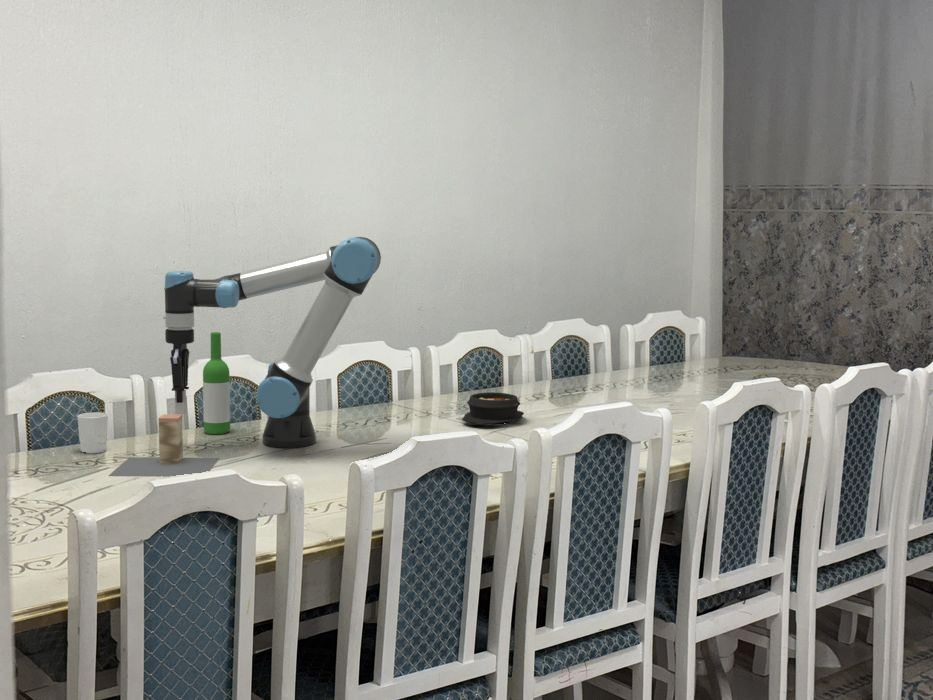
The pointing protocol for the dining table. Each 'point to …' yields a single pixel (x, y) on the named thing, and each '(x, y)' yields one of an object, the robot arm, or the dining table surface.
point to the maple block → (170, 439)
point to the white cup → (93, 432)
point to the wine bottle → (216, 390)
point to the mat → (163, 467)
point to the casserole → (493, 408)
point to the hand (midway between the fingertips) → (180, 413)
